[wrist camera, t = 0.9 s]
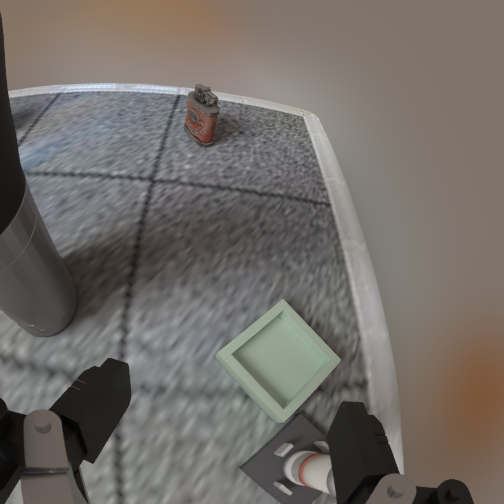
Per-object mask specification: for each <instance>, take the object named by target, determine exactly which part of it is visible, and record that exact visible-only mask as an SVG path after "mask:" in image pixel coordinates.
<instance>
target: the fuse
mask: <svg viewBox="0 0 504 504" xmlns="http://www.w3.org/2000/svg"><path fill="white" fill-rule="evenodd" d="M282 471H283V474H284V476H285V477H286V478H287V479H288V480H289V481H291V482H293V483H296V484H298V485H302V486H308V487H310V488H313V489H317V490H320V491H323V492H326V493H329V494H331V495H332V496H333V497H335V498H336V492H335V486H334V479H333V472H332V466H331V459H330V455H327V454H318V453H316V452H313V451H306V450H298V451H295V452H292V453H291V454H289V455H288V456H287V457H286V459H285V460H284V462H283V466H282Z"/></svg>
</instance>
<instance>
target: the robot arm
mask: <svg viewBox="0 0 504 504" xmlns="http://www.w3.org/2000/svg"><path fill="white" fill-rule="evenodd" d="M77 300H78V296H77V289H76V286H75V283H74V281H73V279H72V278H71V276H70V274H69V272H68V270H67V268H66V266H65V264H64V262H63V261H62V259H61V257H60V255H59V253H58V251H57V249H56V247H55V245H54V243H53V241H52V239H51V237H50V235H49V233H48V231H47V228H46V226H45V224H44V222H43V220H42V217H41V215H40V213H39V211H38V208H37V206H36V203H35V202H34V199H33V197H32V194H31V192H30V189H29V186H28V184H27V181H26V179H25V176H24V173H23V170H22V167H21V164H20V158H19V152H18V145H17V137H16V132H15V127H14V122H13V118H12V113H11V108H10V102H9V95H8V89H7V79H6V68H5V52H4V35H3V26H2V18H1V13H0V309H1V310H2V311H3V312H4V313H5V314H6V315H7V316H8V317H10V318H11V319H12V320H13V321H14V322H15V323H17V324H18V325H19V326H20V327H21V328H23V329H24V330H25V331H26V332H28V333H30V334H32V335H34V336H38V337H48V336H52V335H55V334H56V333H58V332H60V331H61V330H63V329H64V328H65V327H66V326H67V325H68V323H69V322H70V321H71V319H72V317H73V315H74V313H75V310H76V307H77ZM130 400H131V385H130V374H129V366H128V364H127V363H125V362H122V361H119V360H115V359H112V358H108V359H107V360H106V361H105V362H104V363H103V364H102V365H101V366H100V367H97V366H93V367H91V368H89V369H87V370H85V371H84V372H83V373H82V374H81V375H80V376H79V377H78V378H77V381H74V383H73V384H72V385H71V387H69V388H68V389H67V390H66V391H65V392H64V393H63V395H62V396H61V397H60V398H59V399H58V400H57V401H56V402H55V403H54V405H53V406H52V407H51V408H50V409H49V410H43V409H41V410H35V411H32V412H31V413H29V414H28V415H24V414H20V413H16V412H13V411H9V410H8V408H7V406H6V404H5V402H4V401H3V400H2V399H1V398H0V504H5V502H6V501H7V499H8V497H9V496H10V494H11V492H12V491H13V489H14V488H15V486H16V484H17V483H18V481H19V480H21V489H22V496H23V502H24V504H91V503H90V500H89V497H88V493H87V490H86V487H85V483H84V479H83V476H82V472H81V468H80V464H81V463H82V461H83V460H86V461H88V462H90V463H92V464H94V462H95V461H96V459H97V457H98V456H99V454H100V452H101V451H102V449H103V447H104V446H105V444H106V442H107V441H108V439H109V437H110V436H111V434H112V432H113V431H114V429H115V427H116V426H117V424H118V423H119V421H120V419H121V418H122V416H123V414H124V413H125V411H126V410H127V408H128V406H129V404H130ZM328 447H329V453H330V459H331V466H332V472H333V479H334V486H335V492H336V500H337V504H474V503H473V500H472V497H471V495H470V492H469V490H468V488H467V486H466V485H465V484H464V483H463V482H461V481H458V480H455V479H450V480H446V481H444V482H443V483H441V485H439V487H438V488H428V487H418V486H415V484H414V482H413V481H412V480H411V479H410V478H408V477H407V476H405V475H402V474H400V473H399V470H398V467H397V464H396V461H395V459H394V456H393V453H392V450H391V448H390V445H389V444H388V439H387V437H386V436H385V431H384V429H383V426H382V424H381V423H380V421H379V420H378V419H377V418H376V417H375V416H374V415H368V414H367V411H366V408H365V406H364V403H363V402H349V401H343V402H342V403H341V405H340V407H339V409H338V411H337V414H336V416H335V418H334V420H333V422H332V425H331V427H330V429H329V433H328Z"/></svg>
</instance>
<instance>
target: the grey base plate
mask: <svg viewBox="0 0 504 504" xmlns="http://www.w3.org/2000/svg"><path fill="white" fill-rule="evenodd" d="M298 450H306V451H313V452H316V453H318V454H327V455H330V453H329V447H328V439H327V438H326V437H325V436H324V435H323V434H322V433H321V432H320V431H319V430H318V429H316V428H315V427H314V426H313V425H312V424H311V423H310V422H309V421H308V420H307V419H306V418H305V417H304V416H303V415H302V414H301V413H298V414H296V415H295V416H294V417H293V418H292V419H291V420H290V421H289V422H288V423H287V424H286V425H285V426H284V427H283V428H282V429H281V430H280V431H279V432H278V433H277V434H276V435H275V436H274V437H273V438H272V439H271V440H270V441H269V442H268V443H266V444H265V445H264V446H263V447H262V448H261V449H260V450H259V451H258V452H257V453H255V454H254V455H253V456H252V457H251V458H250V459H249V460H247V461H246V462H245V463H244V464H243V465H242V466H240V467H239V468H240V469H241V470H242V471H243V472H244V473H245V474H247V475H248V476H249V477H250V478H251V479H252V480H253V481H255V482H256V483H257V484H258V485H259V486H260V487H262V488H263V489H264V490H265V491H266V492H268V493H269V494H270V495H271V496H272V497H274V498H275V499H276V500H278V501H279V502H280V503H281V504H311V503H312V502H313V501H314V500H315V499H316V498H317V497H318V496H319V495H320V494H321V493H322V492H323V491H320V490H317V489H313V488H310V487H308V486H302V485H298V484H296V483H293V482H291V481H289V480H288V479H287V478H286V477H285V476H284V474H283V471H282V466H283V462H284V460H285V459H286V457H287V456H288V455H289V454H291V453H292V452H295V451H298Z"/></svg>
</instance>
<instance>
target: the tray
mask: <svg viewBox="0 0 504 504" xmlns="http://www.w3.org/2000/svg"><path fill="white" fill-rule="evenodd" d="M214 358H215V359H216V360H217V361H218V362H219V363H220V365H221V366H222V367H223V368H224V369H225V370H226V371H227V372H228V373H229V375H230V376H231V377H232V378H233V379H234V380H235V381H236V382H237V383H238V384H239V385H240V387H241V388H242V389H243V390H244V391H245V392H246V393H247V394H248V395H249V396H250V397H251V398H252V399H253V400H254V401H255V402H256V403H257V404H258V405H259V406H260V407H261V408H262V409H263V410H264V412H265V413H266V414H267V415H268V416H269V417H270V418H271V419H273V420H274V421H275V422H276V423H283V422H285V421H286V420H287V419H288V418H289V417H290V416H291V415H292V414H293V413H294V412H295V411H296V410H297V409H298V408H299V407H300V406H301V404H302V403H303V402H304V401H305V400H306V399H307V398H308V397H309V396H310V395H311V394H312V393H313V392H314V391H315V390H316V388H317V387H318V386H319V385H320V384H321V383H322V382H323V381H324V380H325V378H326V377H327V376H328V375H329V374H330V373H331V372H332V370H333V369H334V368H335V367H336V366H337V365H338V363H339V362H340V361H341V359H340V358H339V357H338V356H337V355H336V354H335V353H334V352H333V351H332V350H331V349H330V347H329V346H328V345H327V344H326V343H325V342H324V341H323V340H322V339H321V338H320V337H319V336H318V335H317V334H316V333H315V332H314V331H313V330H312V329H311V328H310V327H309V326H308V324H307V323H306V322H305V321H304V320H303V319H302V318H301V317H300V316H299V315H298V314H297V313H296V312H295V311H294V310H293V309H292V308H291V307H290V306H289V304H288V303H287V302H286V301H285V300H284V299H282V300H281V301H280V302H279V303H277V304H276V305H275V306H274V307H273V308H271V309H270V310H269V311H268V312H267V313H266V314H264V315H263V316H262V317H261V318H260V319H258V320H257V321H256V322H255V323H253V324H252V325H251V326H250V327H249V328H247V329H246V330H245V331H244V332H242V333H241V334H240V335H239V336H238V337H236V338H235V339H234V340H233V341H231V342H230V343H229V344H228V345H226V346H225V347H224V348H223V349H221V350H220V351H219V352H217V354H216V356H215V357H214Z"/></svg>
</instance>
